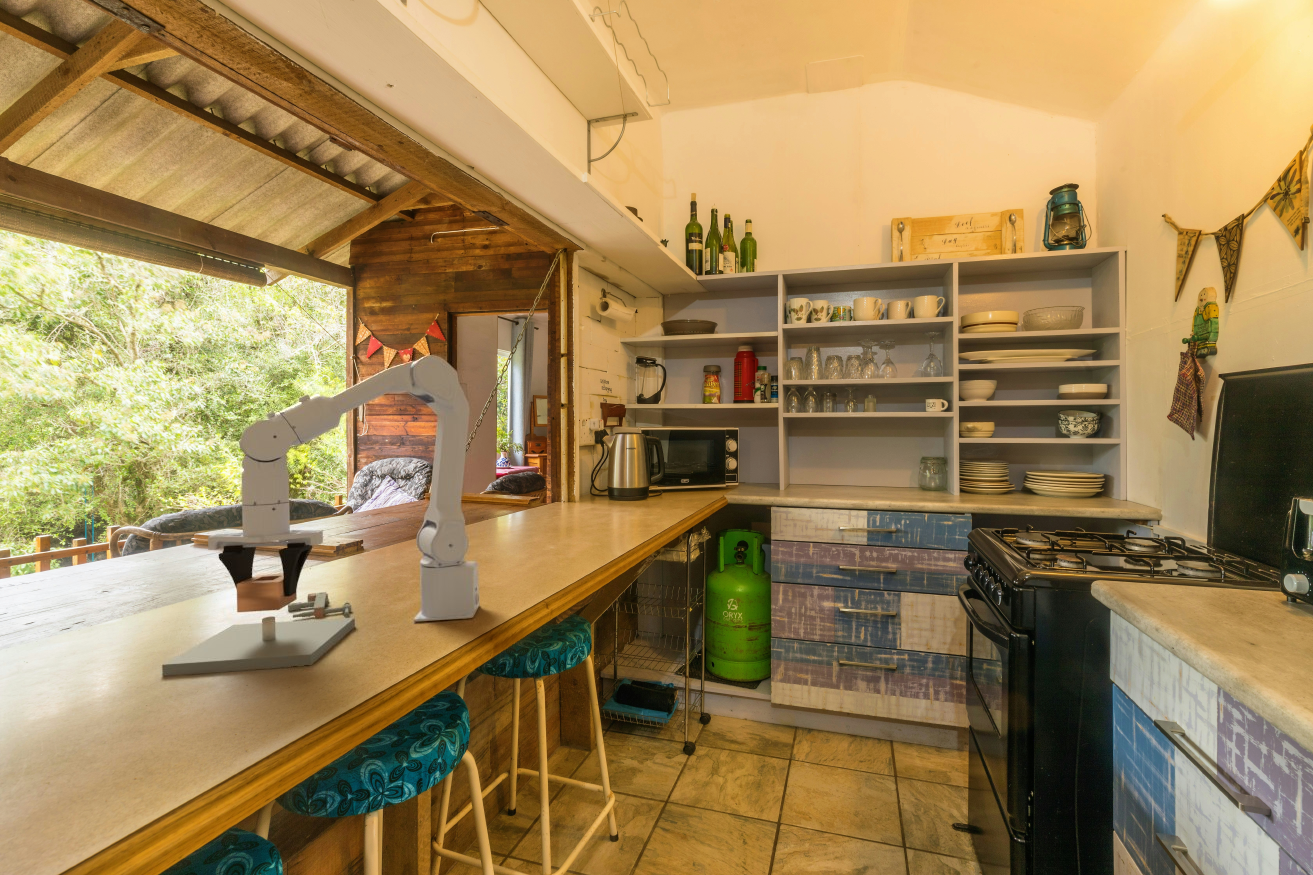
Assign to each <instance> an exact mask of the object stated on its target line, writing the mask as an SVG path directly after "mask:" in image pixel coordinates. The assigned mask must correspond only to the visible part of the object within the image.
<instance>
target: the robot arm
mask: <svg viewBox="0 0 1313 875" xmlns="http://www.w3.org/2000/svg"><path fill="white" fill-rule="evenodd" d="M464 392H465V391H464V390H463V388H462V386H461V383H460V381H459V375H458V372H457V370H456V369H455V368H454V367H453V366H452V365H451V364H450V363H449V362H447V361H446V360H445V359H444V358H442V357H440V356H438V355H432V354H431V355H429V354H428V355H426V356H422V357H421V358H419V359H417V360H411V361H408V362H405V363H402V364H399V365H394V366H392V367H389V368H386V369H383V370H382V371H380V372H378V373H376V374H373V375H371V376H370V377H368V378H366V379H364V380H362V381H360V382H358V383H356V384H354V385H352V386H351V387H349V388H346V389H345V390H343V391H341V392H338V393H337V394H334V395H333V396H332V397H331V396H326V395H322V394H319V393H318V394H314V395H312V396H310V395H309V394H304V395H303V396H300V397H298V401H299V402H297V403H295V404H292V405H291V406H288V407H286V408H284V409H282V410H280V411H278V412H274V411H273V410H272V411H271V412H268V413H266V414H265V415H266V417H267V418H268V419H259V420H256V421H255V423H253V424H251V425H249V426H248V427H246V428H245V429H244V430H243V432H242V434H241V436H240V441H238V444H239V447H240V450H241V452H242V453H243V454H244V455H243V459H242V460H241V461H242V462H241V466H242V469H243V471H242V473H241V511H242V512H241V513H242V514H241V516H242V517H241V518H242V532H232V533H215V534H213V535H210V536H207V538H208V539H207V543H208V547H207V548H208V551H209V550H210V551H211V550H219V549H223V550H222V552H220V553H218V559H219V560H220V562H221V563H222V564H223V566H224V567H225V568H226V570H227V571H228V573H229V575H230V576H231V579H232V581H233V584H234V587H235V588H236V590H237V584H238V583H240V582H243V581H245V580H247V579H249V578H252V577H253V568H254V566H253V564H254V560H255V554H256V553H255V552H256V548H260V547H261V548H262V547H263V548H265V547H284V548H281V549H279V550H278V554H279V557H280V561H281V567H282V572H283V573H282V574H283V576H284V595H285V597H287V596H291V595H293V594H295V593H297V588H298V584H299V580H300V577H301V576H300V575H301V574H302V573H301V572H302V570H303V568H304V565H305V563H306V561H307V559H308V557H309V555H310V553H311V551H312V550H313V546H318V545H319V546H320V545H321V544H323V543H324V537H323V536H324V531H323V530H322V529H321V530H319V529H317V530H316V529H314V530H313V529H311V530H308V529H307V530H306V529H291V528H290V527H291V526H290V524H291V523H290V519H291V518H290V515H291V514H290V478H289V477H290V476H289V474H290V472H289V470H288V469H287V468H288V466H287V464H288V462H287V454H288V452H289V450H290V449H291V447H292V446H295V447H297V448H298V447H300V446H301V447H302V445H304V444H306V443H309V442H310V441H312V440H314V439H316V438H318V437H320V436H322V435H324V434H326V433H327V432H330V431H331V430H334V429H336V428H338V427H339V425H340V421H341V417H342V416H343V415H344V414H346V413H348V412H350V411H352V410H354V409H356V408H359V407H361V406H363V405H365V404H367V403H369V402H371V401H373V400H375V399H377V398H380V397H382V396H384V395H386V394H404V393H407V394H409V395H410V396H412V397H414V398H415V399H416V400H417V399H418V400H420V401H422V402H423V403H425V405H426V406H428V407H429V409H430V410H432V412H433V413H434V414H435V415H436V416H437V421H436V433H435V440H434V441H435V443H434V444H435V445H434V453H433V454H434V455H433V464H432V473H431V474H432V475H431V483H430V484H431V486H430V496H429V506H428V507H427V509H426V511H425V513H424V516H423V523H422V525H421V527H420V528H419V530H418V532H417V534H416V538H415V539H416V541H415V542H416V546H417V548H418V549H419V551H420V553H421V554H422V558H421V559H420V561H419V568H420V569H419V571H420V572H419V574H420V575H419V576H420V579H419V580H420V611H419V612H418V613H417V615H415V617H414V618H413V622H428V621H432V622H433V621H442V620H443V621H445V620H460V619H462V620H463V619H472V618H473V617H474V616H475V614H476V612H477V610H478V608H479V606H480V589H479V588H480V587H479V585H480V581H479V579H480V578H479V565H478V562H477V561H474V560H473V561H471V560H470V561H468V560H465V556H466V554H467V553H468V550H469V544H470V543H469V537H468V535H467V532H466V520H465V515H464V513H463V511H462V495H463V486H464V476H465V475H464V474H465V463H466V462H465V461H466V455H467V453H466V452H467V444H468V443H467V442H468V431H469V422H470V421H469V420H470V404H469V401H468V399H467V397H466V395H465V393H464Z"/></svg>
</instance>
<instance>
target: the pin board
mask: <svg viewBox="0 0 1313 875" xmlns="http://www.w3.org/2000/svg"><path fill="white" fill-rule="evenodd" d="M355 627H356V619H355V617H347V618H346V617H343V618H342V617H340V618H325V619H323V618H322V619H308V620H292V621H291V620H289V621H276V616H272V615H271V616H270V615H269V616H266V617H263V618H261V622H259V623H257V622H256V623H241V624H240V623H239V624H232V625H230V626H228V627H227V628H225V629H223V630H221V631H219V632H218V633H217V634H215V635H213V636H211V637H209V638H208V639H205V640H204V641H202V642H201V643H199V644H196V645H195V646H194V647H191V648H190V649H188V650H186V651H184V652H182V653H180V654H178V655H177V656H175V657H174V658H171V659H170V660H168V661H166V662H164V663H162V664H161V667H162V669H161V672H162V677H172V676H185V675H186V676H187V675H196V674H197V675H198V674H212V673H214V674H215V673H225V672H239V671H252V670H265V669H266V670H268V669H282V668H281V667H284V668H294V667H293V666H298V667H305V666H304V665H311V666H312V665H314V664H315V663H316V662H317V661H318V660H320V658H321V657H322V656H324V655H325V654H326V653H327V652H328V651H329V650H331V649H332V648H333V647H332V646H333V645H334V646H335V645H336V644H337V643H339V641H341V640H342V639H343V638H344V637H346V635H347V634H349V632H351V631H352V630H353V629H354V628H355ZM324 653H325V654H324ZM323 654H324V655H323ZM314 662H315V663H314ZM291 666H292V667H291Z"/></svg>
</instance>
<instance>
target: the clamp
mask: <svg viewBox="0 0 1313 875" xmlns="http://www.w3.org/2000/svg"><path fill="white" fill-rule="evenodd" d="M329 605H330V599H329V593H327V591H322V592H314V593H308V594H307V601H306V602H300V601H298V602H291V603H290V604H288V605H287V611H288V612H291V611H297V610H301V609H307V608H313V610H311V611H305V612H304V611H303V612H301V613H295V614H292V618H294V619H295V618H306V617H314V616H315V617H317V618H316V619H319V618H318V617H320V618H324V617H323V615H324V616H325V615H330V614H336V613H342V614H343V618H350V616H351V612H352V604H350V602H348V601H347V602H345V603H344V604H343V605H342V606H341V607H334V608H326V607H327V606H329Z"/></svg>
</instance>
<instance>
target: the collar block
mask: <svg viewBox="0 0 1313 875" xmlns="http://www.w3.org/2000/svg"><path fill="white" fill-rule="evenodd" d="M297 596H298V595H297V592H296V593H295V594H293V595H291V596H287V597H285V595H284V576H283V573H272V574H271V573H269V574H268V573H267V574H256V575H254V576H252V578H249V579H247V580H245V581H243V582H240V583H238V584H237V589H236V612H237V613H250V612H264V611H265V612H268V611H279V610H281V609H283V608H285V607H286V606H288V604H290V603H294V602H295V601H296V600H297Z"/></svg>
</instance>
